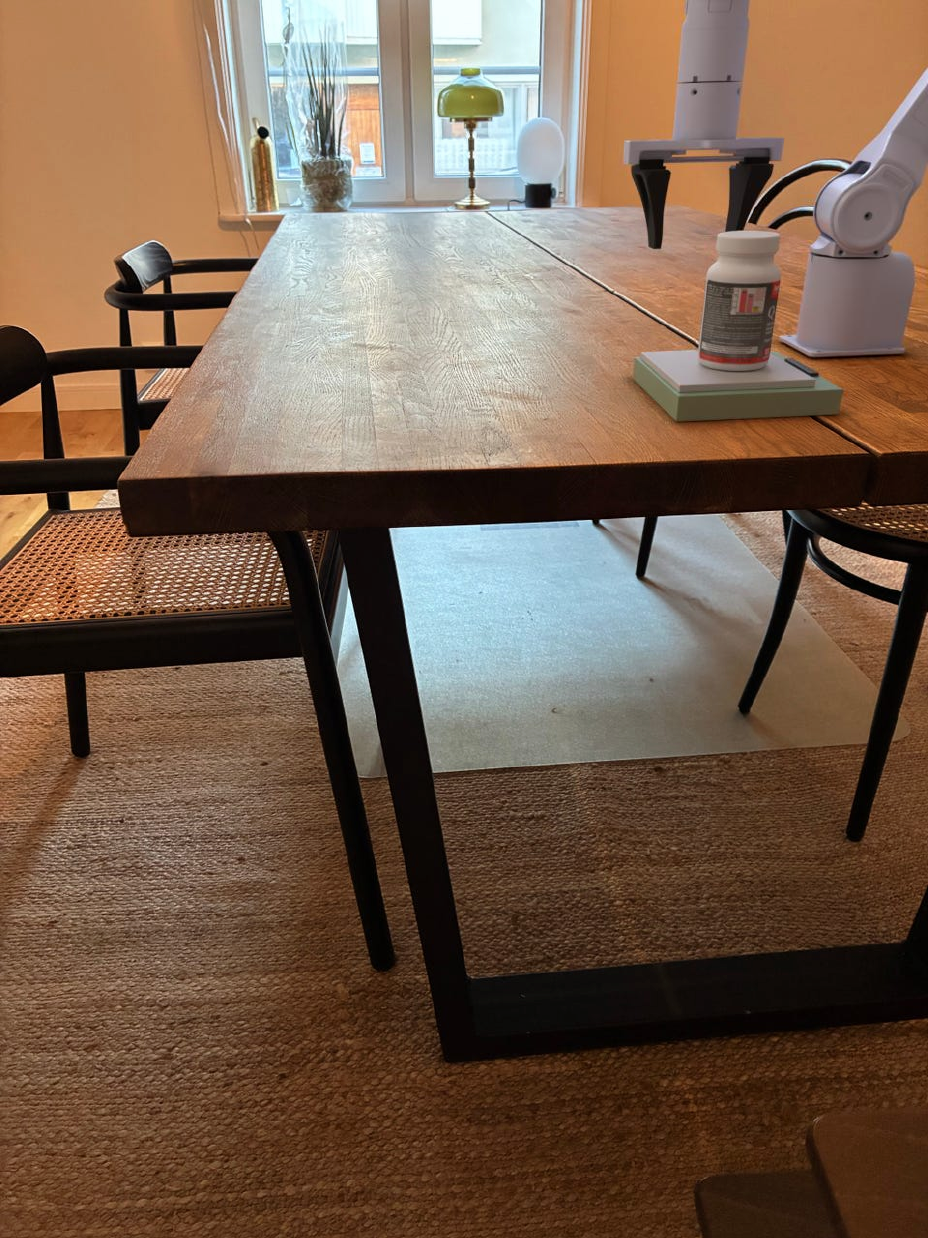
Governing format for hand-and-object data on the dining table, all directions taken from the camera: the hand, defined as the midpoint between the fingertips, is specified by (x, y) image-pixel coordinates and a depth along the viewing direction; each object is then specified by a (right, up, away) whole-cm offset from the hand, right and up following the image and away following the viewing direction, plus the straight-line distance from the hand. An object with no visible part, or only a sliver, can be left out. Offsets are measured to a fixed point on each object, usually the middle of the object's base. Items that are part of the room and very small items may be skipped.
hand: (693, 246), depth 86 cm
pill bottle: (0, -15, -13) cm, 20 cm away
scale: (0, -17, -12) cm, 21 cm away
